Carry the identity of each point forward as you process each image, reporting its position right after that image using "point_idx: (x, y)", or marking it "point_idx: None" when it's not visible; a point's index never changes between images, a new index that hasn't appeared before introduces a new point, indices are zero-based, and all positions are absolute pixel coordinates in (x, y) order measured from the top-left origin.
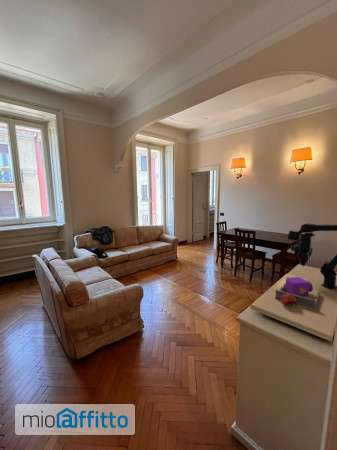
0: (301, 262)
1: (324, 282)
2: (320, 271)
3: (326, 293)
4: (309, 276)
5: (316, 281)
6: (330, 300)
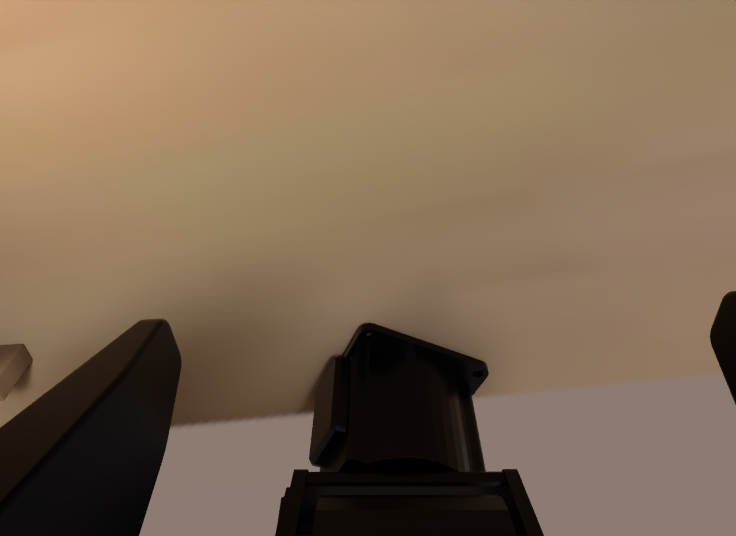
0: (13, 425)
1: (327, 405)
2: (313, 526)
3: None
4: (702, 122)
5: (495, 253)
6: None
